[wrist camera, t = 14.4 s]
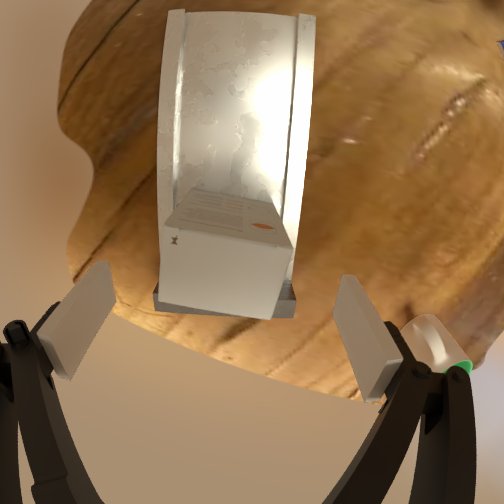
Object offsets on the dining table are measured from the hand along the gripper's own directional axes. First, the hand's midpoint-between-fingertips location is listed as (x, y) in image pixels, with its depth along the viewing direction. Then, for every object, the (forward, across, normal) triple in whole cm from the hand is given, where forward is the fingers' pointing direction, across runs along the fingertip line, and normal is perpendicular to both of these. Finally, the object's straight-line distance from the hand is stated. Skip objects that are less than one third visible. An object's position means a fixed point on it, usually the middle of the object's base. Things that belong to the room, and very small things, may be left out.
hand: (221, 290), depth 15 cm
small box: (+13, 0, -1) cm, 13 cm away
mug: (+14, +26, -15) cm, 34 cm away
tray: (+14, 0, +6) cm, 15 cm away
